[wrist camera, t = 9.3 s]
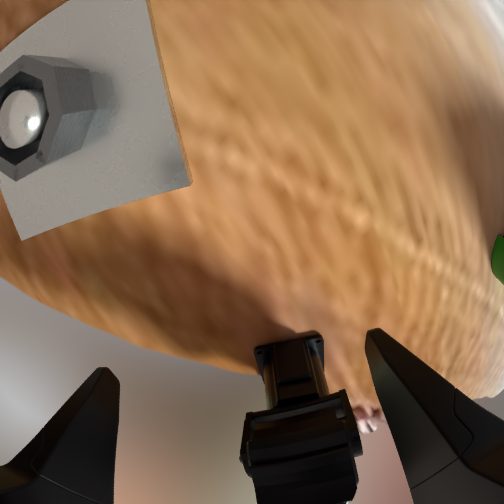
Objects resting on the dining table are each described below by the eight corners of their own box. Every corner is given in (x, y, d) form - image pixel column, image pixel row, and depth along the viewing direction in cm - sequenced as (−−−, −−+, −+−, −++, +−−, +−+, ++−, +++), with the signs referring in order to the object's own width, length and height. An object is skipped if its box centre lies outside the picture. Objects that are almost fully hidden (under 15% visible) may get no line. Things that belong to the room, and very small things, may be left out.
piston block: (193, 181, 17) (177, 209, 13) (27, 235, 18) (-5, 266, 14) (144, -29, 10) (117, -59, 5) (-16, 74, 11) (-56, 80, 6)
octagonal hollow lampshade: (105, 138, 15) (72, 150, 11) (32, 173, 15) (-1, 192, 12) (84, 43, 11) (49, 35, 8) (12, 90, 12) (-24, 96, 8)
